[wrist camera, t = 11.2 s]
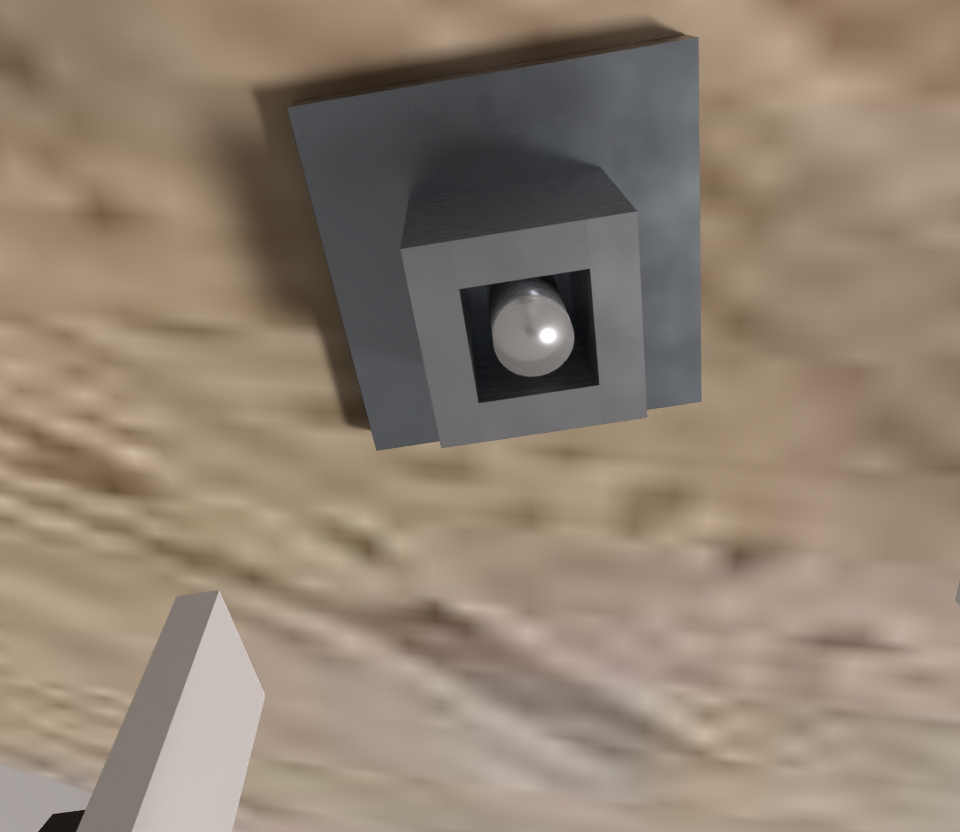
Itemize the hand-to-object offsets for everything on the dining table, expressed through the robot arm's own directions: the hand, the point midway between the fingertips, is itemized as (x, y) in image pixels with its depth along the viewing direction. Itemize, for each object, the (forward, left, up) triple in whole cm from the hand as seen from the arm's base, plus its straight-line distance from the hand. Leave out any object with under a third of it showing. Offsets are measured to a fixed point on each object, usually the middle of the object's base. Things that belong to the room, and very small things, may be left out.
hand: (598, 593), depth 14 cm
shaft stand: (0, 0, -19) cm, 19 cm away
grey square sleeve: (0, 0, -18) cm, 18 cm away
